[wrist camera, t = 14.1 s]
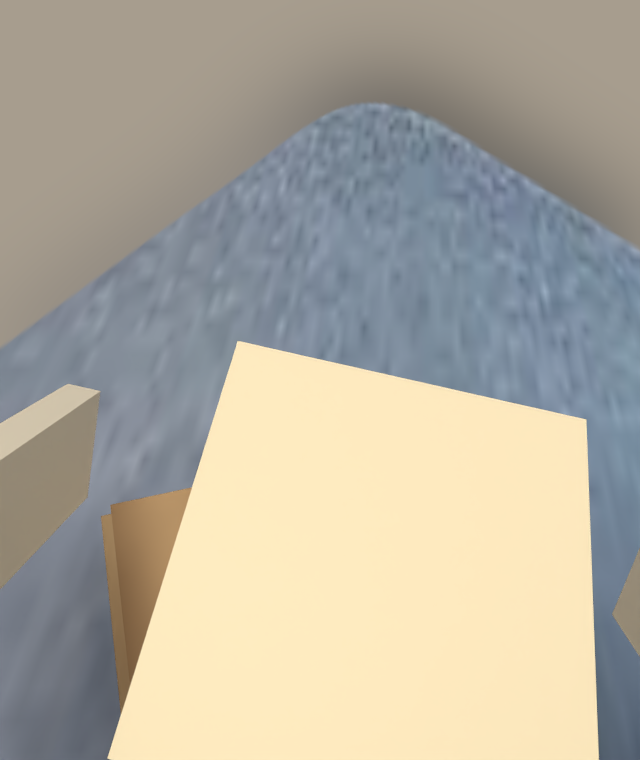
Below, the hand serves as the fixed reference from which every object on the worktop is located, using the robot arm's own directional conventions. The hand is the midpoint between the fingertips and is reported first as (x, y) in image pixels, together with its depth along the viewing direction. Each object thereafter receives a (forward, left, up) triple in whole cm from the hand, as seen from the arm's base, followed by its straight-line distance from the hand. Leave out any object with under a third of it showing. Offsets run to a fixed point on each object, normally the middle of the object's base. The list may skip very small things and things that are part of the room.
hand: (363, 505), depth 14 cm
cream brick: (+1, +2, -6) cm, 7 cm away
